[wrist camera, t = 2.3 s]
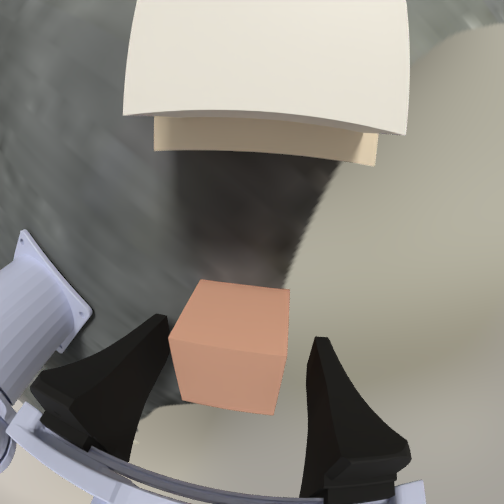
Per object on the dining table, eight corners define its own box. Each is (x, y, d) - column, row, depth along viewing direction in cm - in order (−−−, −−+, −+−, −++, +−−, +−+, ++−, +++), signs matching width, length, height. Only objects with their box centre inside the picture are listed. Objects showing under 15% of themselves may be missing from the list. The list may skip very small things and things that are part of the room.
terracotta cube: (279, 351, 15) (273, 415, 11) (205, 341, 15) (182, 400, 11) (289, 289, 13) (287, 356, 9) (200, 278, 13) (168, 337, 9)
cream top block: (363, 133, 7) (405, 135, 4) (180, 117, 7) (123, 115, 5) (366, -15, 5) (393, -63, 2) (196, -23, 5) (158, -68, 2)
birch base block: (352, 156, 10) (374, 166, 7) (188, 144, 11) (153, 150, 8) (357, 11, 7) (375, -20, 4) (197, 5, 8) (169, -24, 5)
